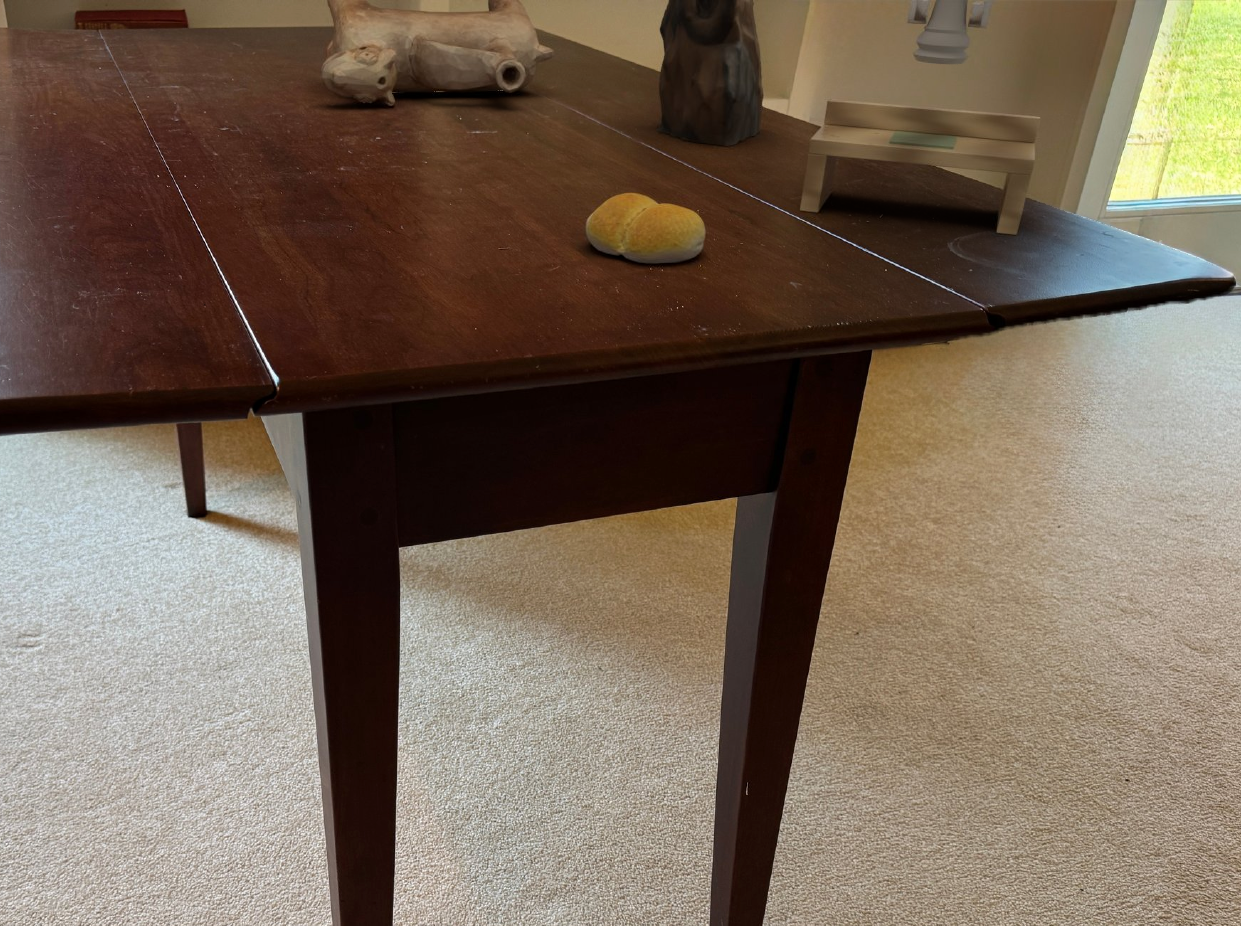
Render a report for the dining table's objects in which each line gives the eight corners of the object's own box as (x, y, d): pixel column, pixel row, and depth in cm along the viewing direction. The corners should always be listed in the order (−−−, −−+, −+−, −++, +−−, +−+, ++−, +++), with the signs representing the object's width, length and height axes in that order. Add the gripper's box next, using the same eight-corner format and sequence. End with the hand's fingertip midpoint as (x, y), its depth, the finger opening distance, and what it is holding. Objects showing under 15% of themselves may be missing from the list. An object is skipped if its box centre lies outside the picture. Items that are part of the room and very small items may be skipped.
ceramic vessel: (305, -38, 147) (328, 7, 128) (534, -13, 156) (587, 33, 137) (303, 67, 155) (324, 124, 136) (521, 86, 164) (569, 142, 145)
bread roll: (667, 273, 83) (672, 217, 80) (569, 249, 87) (571, 195, 85) (726, 250, 88) (732, 197, 86) (630, 229, 93) (634, 178, 91)
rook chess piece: (976, 62, 95) (999, -48, 90) (955, 66, 92) (978, -47, 87) (924, 56, 97) (945, -51, 93) (902, 60, 94) (923, -50, 90)
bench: (1017, 211, 102) (1040, 116, 98) (1016, 235, 95) (1041, 133, 91) (815, 190, 107) (828, 99, 103) (799, 211, 100) (814, 113, 96)
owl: (731, 149, 123) (755, -63, 113) (624, 136, 128) (637, -69, 118) (765, 131, 133) (790, -65, 123) (664, 120, 138) (680, -70, 127)
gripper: (1133, -174, 85) (1081, 30, 92) (855, -178, 91) (827, 14, 98) (1140, -179, 80) (1085, 37, 87) (845, -183, 86) (816, 20, 93)
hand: (946, 25), depth 93 cm, fingers closed on rook chess piece, 3 cm apart
